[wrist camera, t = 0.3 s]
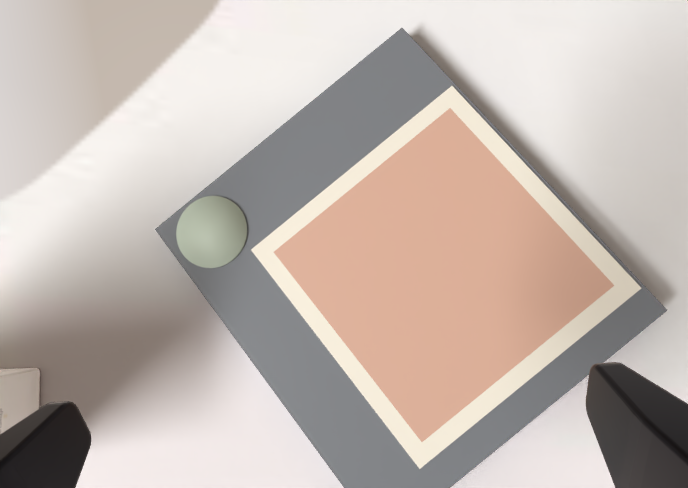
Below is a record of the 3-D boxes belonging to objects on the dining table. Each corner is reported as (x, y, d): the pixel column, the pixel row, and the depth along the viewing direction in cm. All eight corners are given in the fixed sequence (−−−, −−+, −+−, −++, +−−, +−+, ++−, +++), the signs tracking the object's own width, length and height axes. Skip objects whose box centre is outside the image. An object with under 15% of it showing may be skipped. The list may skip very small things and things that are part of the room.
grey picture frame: (654, 310, 21) (668, 310, 20) (384, 530, 21) (383, 542, 20) (401, 38, 24) (402, 26, 23) (164, 232, 24) (154, 228, 23)
